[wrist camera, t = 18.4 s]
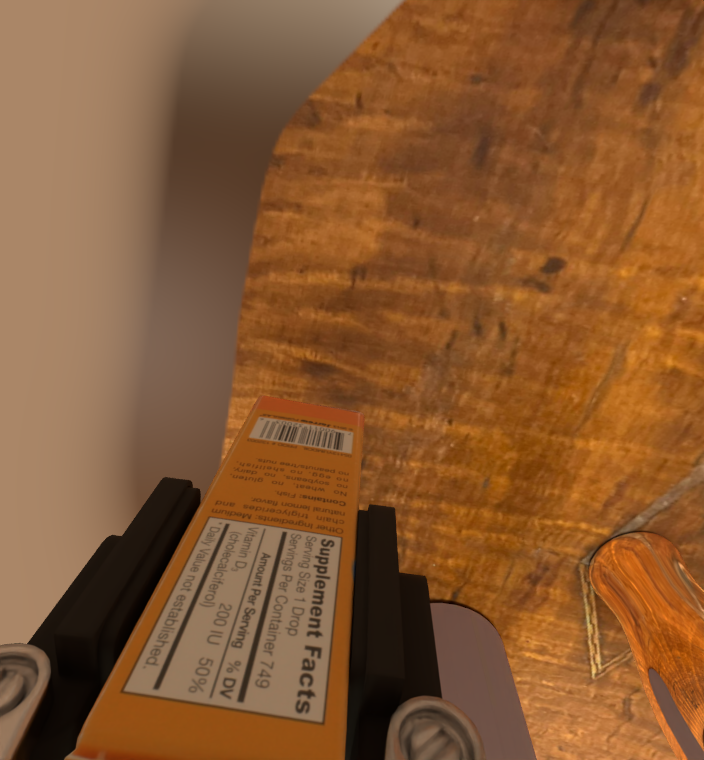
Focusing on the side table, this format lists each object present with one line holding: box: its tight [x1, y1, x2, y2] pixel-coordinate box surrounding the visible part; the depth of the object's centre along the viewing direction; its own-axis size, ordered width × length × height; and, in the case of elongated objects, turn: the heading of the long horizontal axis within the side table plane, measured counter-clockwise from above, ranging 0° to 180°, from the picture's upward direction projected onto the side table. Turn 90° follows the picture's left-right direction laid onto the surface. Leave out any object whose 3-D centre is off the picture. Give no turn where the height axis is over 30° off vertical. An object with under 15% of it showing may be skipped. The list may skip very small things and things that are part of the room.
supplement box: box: [64, 396, 364, 760], centre depth 11 cm, size 3×3×10 cm
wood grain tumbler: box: [588, 532, 704, 760], centre depth 28 cm, size 7×7×15 cm
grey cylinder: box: [430, 603, 537, 760], centre depth 31 cm, size 10×10×15 cm
